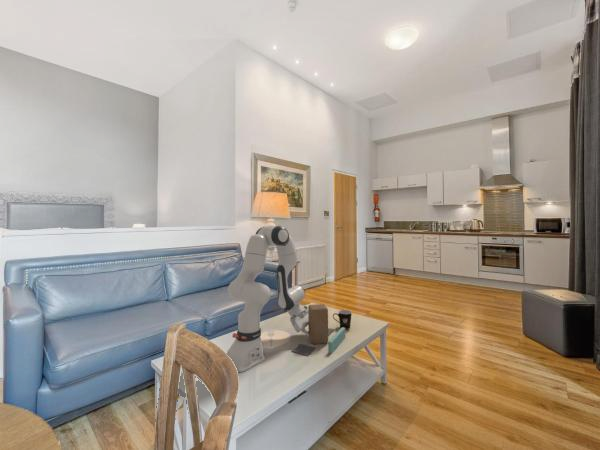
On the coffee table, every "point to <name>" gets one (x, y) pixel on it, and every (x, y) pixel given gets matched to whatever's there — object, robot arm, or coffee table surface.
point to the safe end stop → (336, 340)
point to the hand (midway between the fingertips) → (312, 332)
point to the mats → (307, 347)
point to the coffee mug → (344, 318)
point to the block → (318, 323)
